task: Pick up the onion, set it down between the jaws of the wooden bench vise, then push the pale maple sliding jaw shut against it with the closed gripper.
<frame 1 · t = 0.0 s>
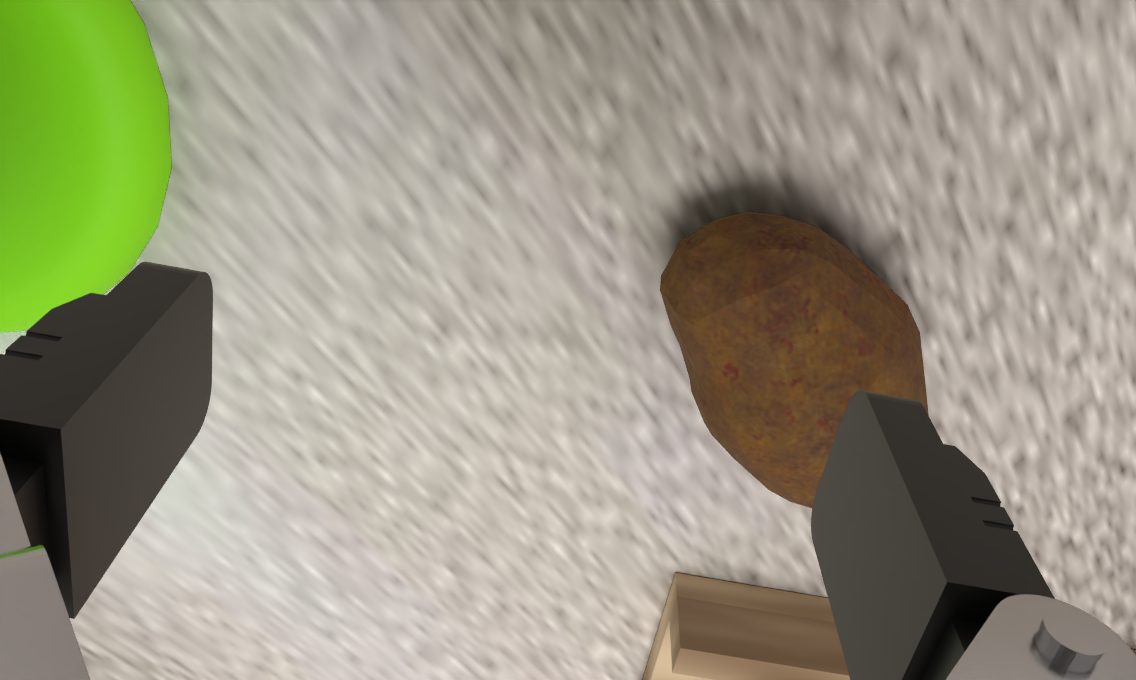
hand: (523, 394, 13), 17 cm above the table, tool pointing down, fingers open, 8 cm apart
potato: (786, 312, 31), on the table
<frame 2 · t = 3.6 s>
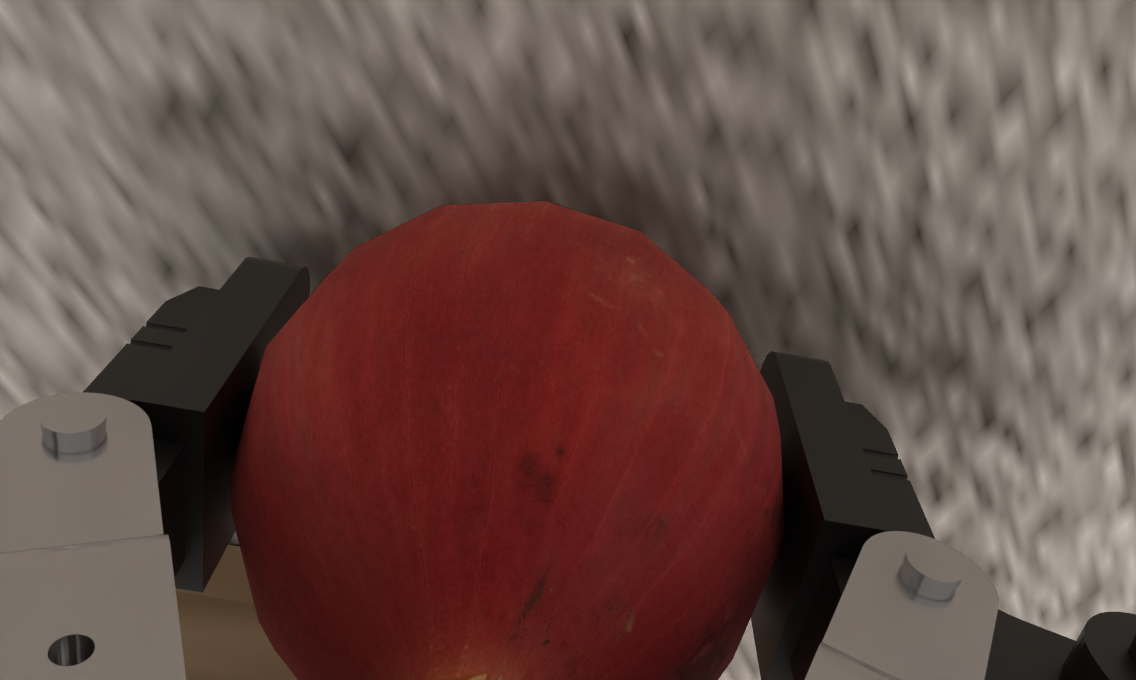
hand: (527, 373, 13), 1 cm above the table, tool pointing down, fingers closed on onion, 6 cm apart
onion: (538, 315, 14), on the table, touching gripper
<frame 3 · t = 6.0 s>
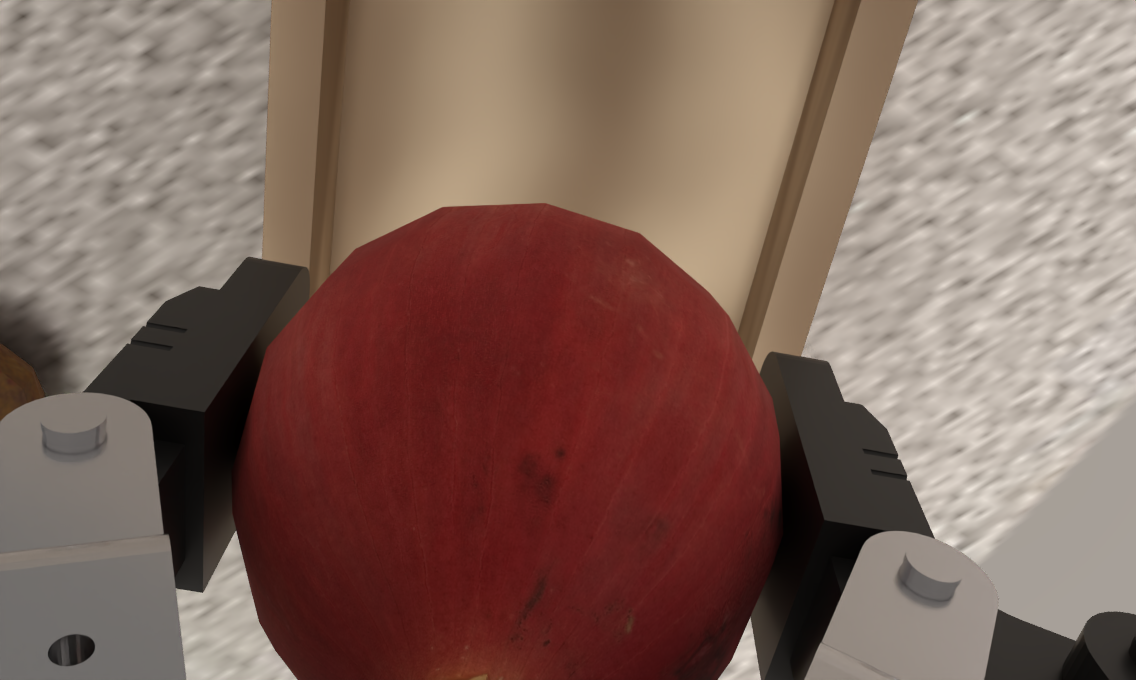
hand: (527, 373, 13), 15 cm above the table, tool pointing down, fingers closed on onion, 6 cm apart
vise base: (552, 203, 28), on the table
onion: (537, 316, 14), point 14 cm above the table, touching gripper
when the fingers open (4 cm above the table, at t = 8.3 s): onion drops 1 cm, resting on vise base.
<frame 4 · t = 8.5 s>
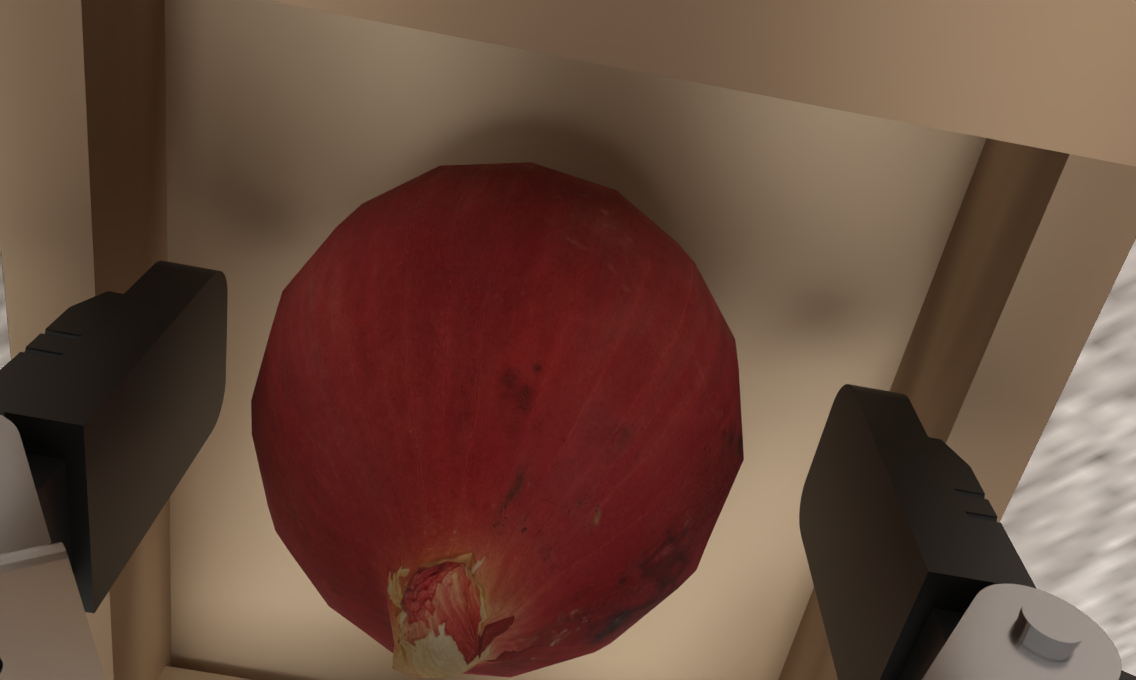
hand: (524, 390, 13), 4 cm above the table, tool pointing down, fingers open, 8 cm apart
vise base: (515, 427, 18), on the table
onion: (530, 277, 16), point 1 cm above the table, touching vise base
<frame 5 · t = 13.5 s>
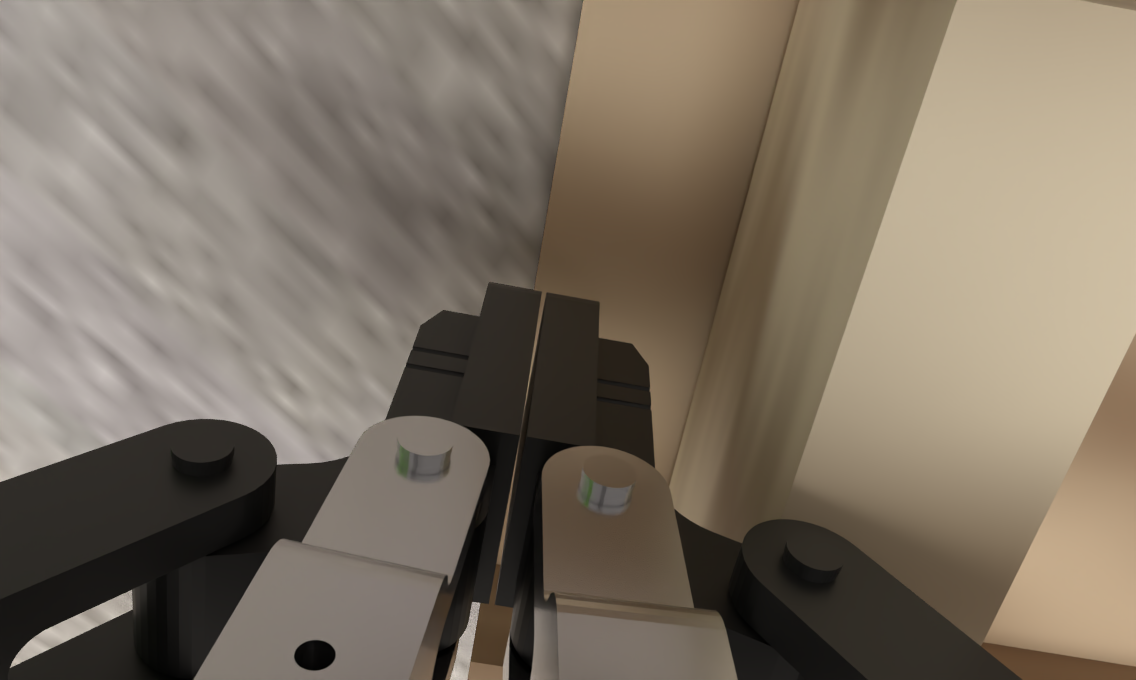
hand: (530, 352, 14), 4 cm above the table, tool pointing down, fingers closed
jaw: (830, 431, 13), point 4 cm above the table, slide at 0.1 cm, touching gripper
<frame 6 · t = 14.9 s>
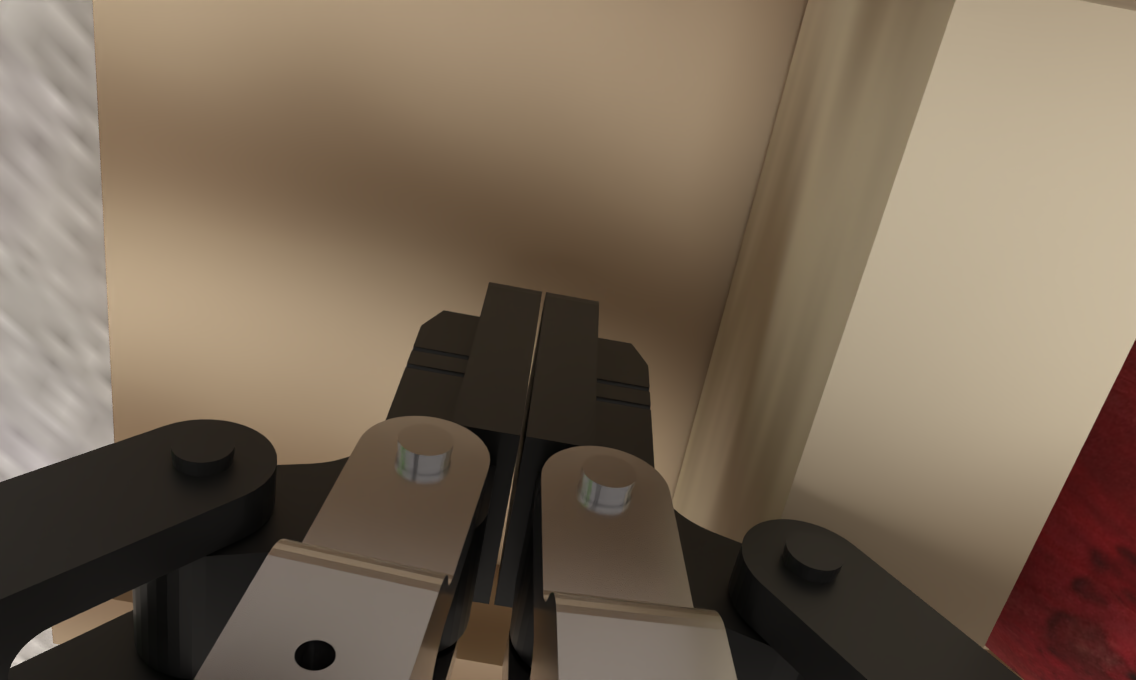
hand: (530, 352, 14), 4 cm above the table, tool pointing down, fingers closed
vise base: (792, 291, 17), on the table
jaw: (834, 434, 13), point 4 cm above the table, slide at 6.9 cm, touching gripper, onion
onion: (1054, 353, 16), point 1 cm above the table, touching jaw, vise base
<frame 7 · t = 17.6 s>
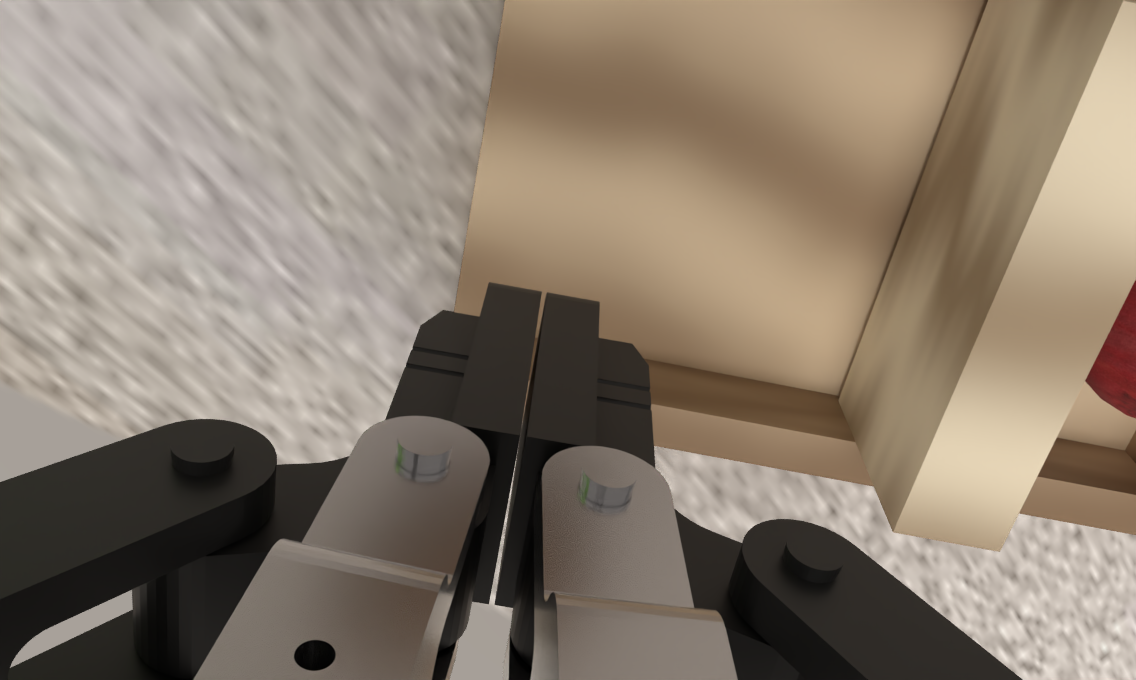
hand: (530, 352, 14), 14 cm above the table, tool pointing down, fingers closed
vise base: (904, 186, 26), on the table
jaw: (1001, 257, 23), point 4 cm above the table, slide at 8.0 cm, touching onion
onion: (1093, 230, 26), point 1 cm above the table, touching jaw, vise base
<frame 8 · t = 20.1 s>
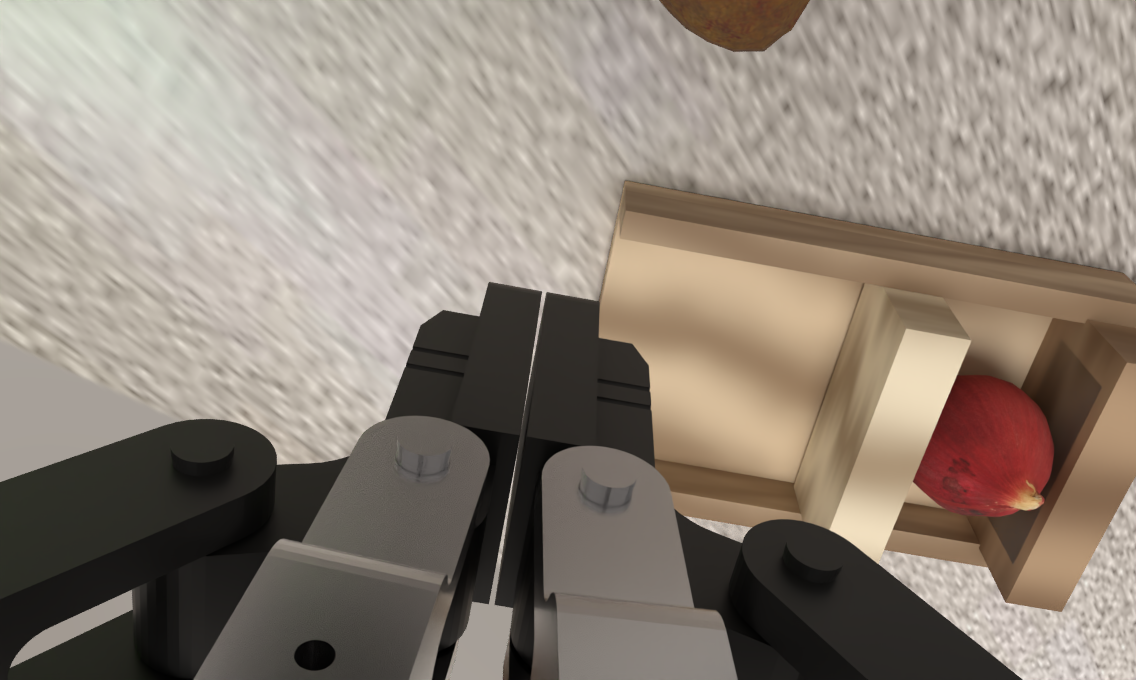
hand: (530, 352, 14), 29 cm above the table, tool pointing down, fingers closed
vise base: (828, 367, 46), on the table
jaw: (871, 422, 42), point 4 cm above the table, slide at 8.0 cm, touching onion
onion: (933, 394, 45), point 1 cm above the table, touching jaw, vise base
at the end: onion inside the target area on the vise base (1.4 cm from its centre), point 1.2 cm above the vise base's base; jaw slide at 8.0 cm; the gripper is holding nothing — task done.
